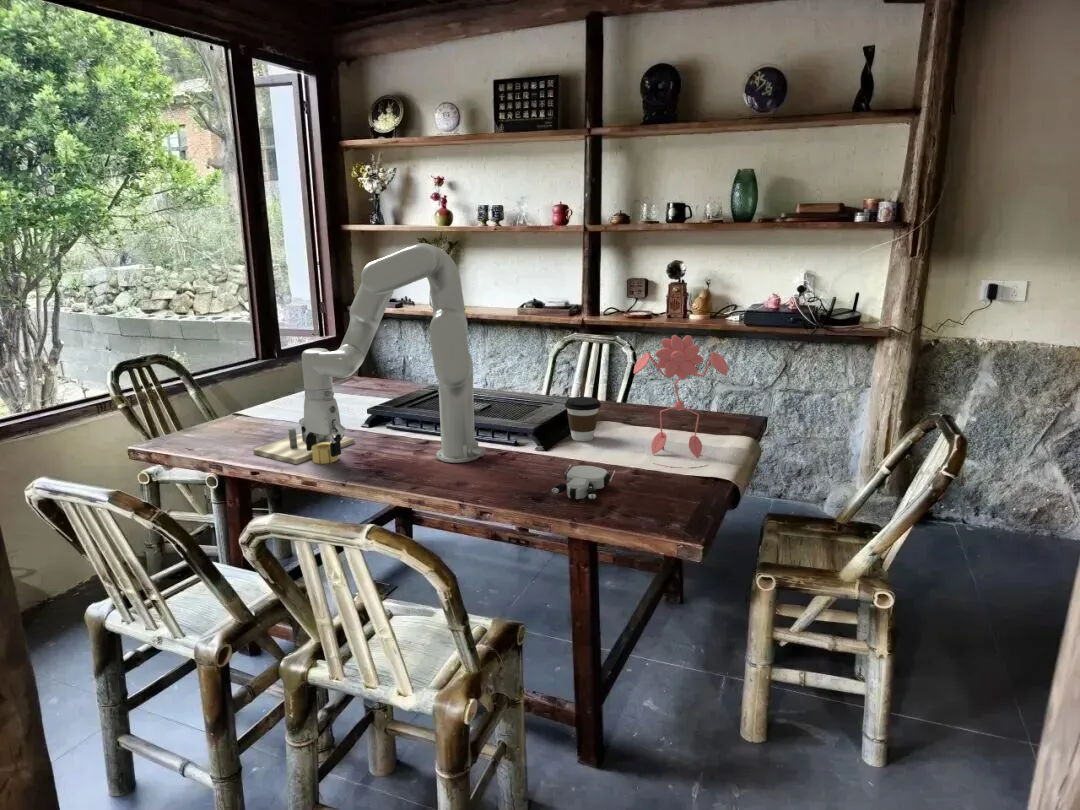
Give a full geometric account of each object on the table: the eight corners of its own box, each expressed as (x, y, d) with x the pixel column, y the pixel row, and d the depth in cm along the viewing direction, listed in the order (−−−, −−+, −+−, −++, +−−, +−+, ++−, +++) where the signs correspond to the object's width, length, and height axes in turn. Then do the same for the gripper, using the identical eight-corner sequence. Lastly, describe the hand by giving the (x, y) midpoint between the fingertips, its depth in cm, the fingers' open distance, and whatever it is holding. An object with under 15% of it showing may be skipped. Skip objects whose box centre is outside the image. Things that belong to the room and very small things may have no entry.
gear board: (354, 443, 211) (352, 420, 209) (296, 464, 193) (293, 440, 191) (313, 434, 220) (311, 413, 218) (253, 454, 202) (251, 431, 200)
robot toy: (596, 509, 163) (616, 483, 176) (596, 492, 162) (616, 467, 175) (548, 502, 168) (571, 477, 181) (547, 485, 167) (570, 461, 179)
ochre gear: (343, 458, 198) (342, 444, 197) (324, 465, 192) (323, 451, 191) (326, 454, 201) (325, 441, 200) (307, 461, 195) (306, 447, 194)
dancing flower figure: (635, 445, 206) (638, 328, 196) (724, 455, 197) (732, 333, 187) (621, 463, 192) (624, 338, 182) (717, 474, 183) (725, 343, 173)
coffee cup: (580, 446, 206) (580, 407, 203) (557, 437, 214) (557, 399, 211) (607, 439, 212) (608, 401, 209) (584, 431, 221) (585, 394, 218)
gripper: (351, 394, 190) (355, 454, 195) (308, 387, 199) (313, 444, 203) (330, 400, 184) (335, 461, 189) (286, 392, 193) (292, 451, 197)
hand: (323, 452), depth 196 cm, fingers open, 9 cm apart
